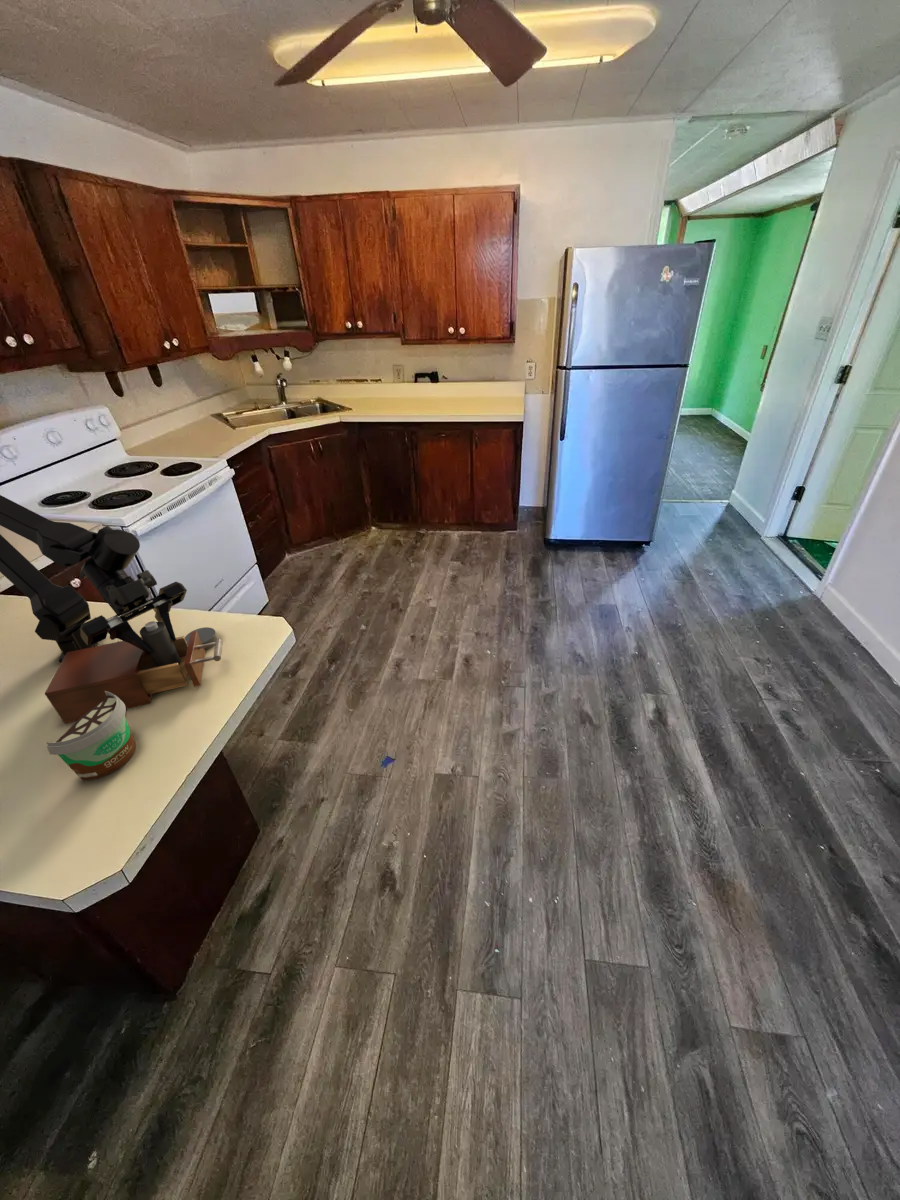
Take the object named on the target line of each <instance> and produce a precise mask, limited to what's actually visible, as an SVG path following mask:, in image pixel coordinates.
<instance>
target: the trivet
mask: <svg viewBox="0 0 900 1200" xmlns="http://www.w3.org/2000/svg"><path fill="white" fill-rule="evenodd" d="M193 631H197V632H198V635H199V637H200V640H201V642H202V645H203V644H208V643H212V642H216V640H217V639H219V637H218V635H217V632H216V629H214V628H213V627H207V626H206V627H199V628H196V629H194V630H191V631H190V632H189V633H187V634H186V635H184V637H185V640H186V642H187V644H189V639H190V634H191V632H193ZM212 647H213V646H211V647H207V648H204V650H205V651H206V650H209V649H211V648H212Z"/></svg>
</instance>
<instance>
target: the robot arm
mask: <svg viewBox="0 0 900 1200" xmlns="http://www.w3.org/2000/svg"><path fill="white" fill-rule="evenodd" d="M0 527H2V528H5V529H7V530H9V531H10V532H13V533H15V534H16V535H19V536H20V537H22V538H25V539H26V540H28V541H30V542H32V543H34V544H35V545H37V546H38V549H39V551H40V553H41V555H42V556H44V557H46V558H47V559H49V560H50V561H52V562H53V563H55V564H57V565H59V566H61V567H63V568H69V567H72V566H75V565H77V564H79V563H80V562H82V561H84V560H86V559H87V560H86V561H85V562H84V563H82V564H80V568H81V569H80V572H79V577H80V578H81V579H83V580H84V579H88V580H89V581H90V582H91V584H92V585H93V586H94V588H95V589H96V590H97V591H98V593H99V594H100V595H101V596H102V598H103V600H104V602H105V603H106V604H108V605H109V607H110V608H111V609H112V611H113V612H114V613H115V614H114V615H113V616H111V617H109V618H106V617H105V616H104V615H102V614H101V615H99V616H96V617H94V618H92V617H91V611H90V606H89V603H88V601H87V600H86V599H85V597H84V596H82V595H81V594H79V592H77V591H76V589H75V588H74V587H73V586H71V585H69V584H66V585H65V586H62V585H58V584H55V583H54V582H52V581H51V580H49V578H48V577H46V575H45V574H44V573H42V572H41V571H40V570H39V569H38V568H37V567H36V566H35V565H34V564H33V563H31V562H30V561H29V560H28V558H26V557H25V555H23V554H22V553H21V552H20V551H19V550H18V549H16V547H15V546H14V545H13V544H11V543H10V542H9V541H8V540H7V539H6V538H5V537H4V536H3V534H1V533H0V574H2V576H4V577H5V578H6V579H7V580H8V581H9V582H10V583H11V584H13V586H15V587H16V588H17V589H18V590H19V591H20V592H21V593H23V594H24V595H25V596H26V597H27V598H28V599H29V601H30V602H29V603H30V607H31V611H32V614H33V615H34V617H35V618H36V619H37V620H38V623H37V625H36V627H35V630H34V632H35V634H36V635H38V637H39V638H40V639H41V640H46V641H54V642H55V643H56V645H57V646H58V648H59V649H60V651H61V654H60V655H59V657H58V663H62V661H63V659H64V657H65V655H66V654H67V652H71V651H76V650H81V649H86V648H91V647H95V646H98V644H99V643H100V642H102V641H104V640H106V639H107V636H108V634H109V640H111V641H113V640H115V639H117V640H120V641H125V642H127V643H130V644H132V645H134V646H136V647H137V648H139V649H141V650H143V651H145V652H147V653H148V654H152V651H151V649H150V648H149V646H148V645H147V644H146V643H145V642H144V641H143V640H142V639H141V638H140V637H141V636H140V635H139V634H138V633H137V632H136V631H135V630H134V629H133V627H132V626H131V624H130V623H129V621H131V620H133V619H135V618H137V617H139V616H141V615H143V614H146V613H148V612H149V611H152V610H153V612H154V618H155V620H156V622H162V623H164V624H165V626H166V628H167V630H168V633H169V635H170V637H171V639H172V641H176V638H177V636H176V633H175V631H174V628H173V625H172V621H171V618H170V617H171V616H170V611H171V609H172V607H175V606H176V605H178V604H180V603H182V602H183V601H185V598H186V594H187V591H188V590H187V589H186V587H185V586H184V585H183V583H181V582H179V581H174V582H172V583H169V584H167V585H165V586H163V587H161V588H159V591H158V594H157V595H156V596H154V597H152V598H150V599H148V598H149V597H150V594H152V591H151V590H150V588H152V587H155V586H157V585H158V582H157V580H156V579H155V577H154V575H153V574H152V573H151V571H149V570H148V569H147V570H144V571H142V572H140V573H137V574H136V578H137V579H135V580H134V578H133V577H132V576H131V575H128V573H127V572H126V571H125V569H127V568H128V567H129V565H130V564H131V562H132V561H133V559H135V557H136V555H137V553H138V552H139V550H140V548H141V543H140V541H139V539H138V537H137V536H136V535H135V534H133V533H132V532H129V531H126V530H123V529H116V528H115V529H113V528H112V527H111V526H109V525H105V526H104V527H101V528H99V529H98V531H97V532H94V531H91V530H88V529H86V528H84V527H81V526H79V525H76V524H73V523H71V522H65V521H54V520H51V519H48V518H47V517H44V516H43V515H40V514H39V513H37V512H35V511H32V510H31V509H29V508H27V507H26V506H23V505H22V504H19V503H17V502H16V501H13V500H11V499H9V498H7V497H5V496H3V495H1V494H0Z"/></svg>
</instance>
